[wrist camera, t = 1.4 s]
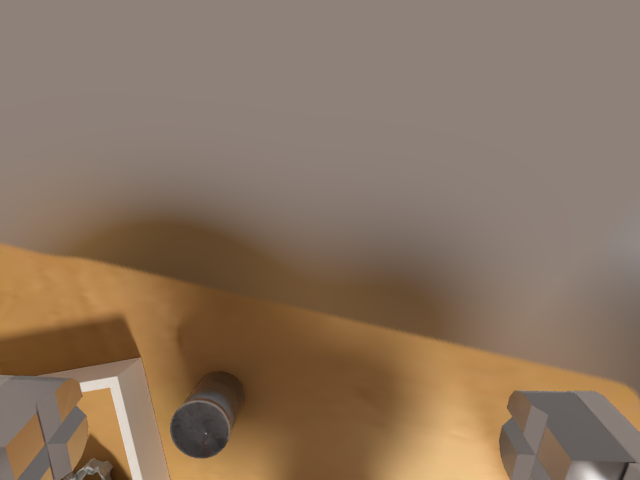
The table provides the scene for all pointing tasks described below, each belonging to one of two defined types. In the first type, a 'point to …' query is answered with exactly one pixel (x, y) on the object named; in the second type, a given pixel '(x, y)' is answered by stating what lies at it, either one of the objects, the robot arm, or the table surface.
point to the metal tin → (208, 415)
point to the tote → (128, 412)
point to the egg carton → (93, 470)
